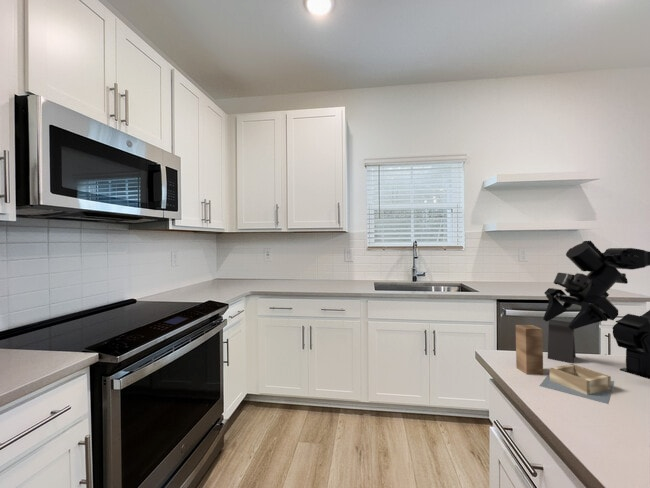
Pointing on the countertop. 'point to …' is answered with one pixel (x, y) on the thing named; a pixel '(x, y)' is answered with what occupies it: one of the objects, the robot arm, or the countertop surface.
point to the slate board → (597, 396)
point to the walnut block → (529, 349)
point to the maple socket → (580, 379)
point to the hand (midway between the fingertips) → (556, 324)
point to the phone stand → (561, 341)
